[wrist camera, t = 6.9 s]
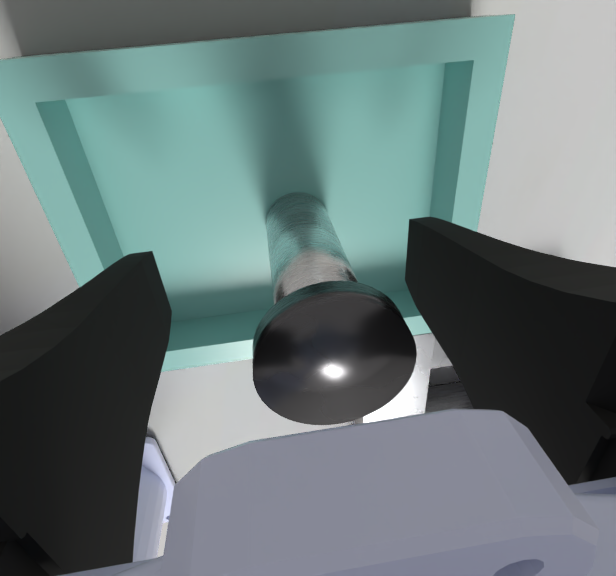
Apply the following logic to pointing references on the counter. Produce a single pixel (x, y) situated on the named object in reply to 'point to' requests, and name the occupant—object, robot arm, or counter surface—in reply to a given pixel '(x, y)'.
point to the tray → (257, 156)
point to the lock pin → (324, 325)
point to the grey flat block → (423, 387)
